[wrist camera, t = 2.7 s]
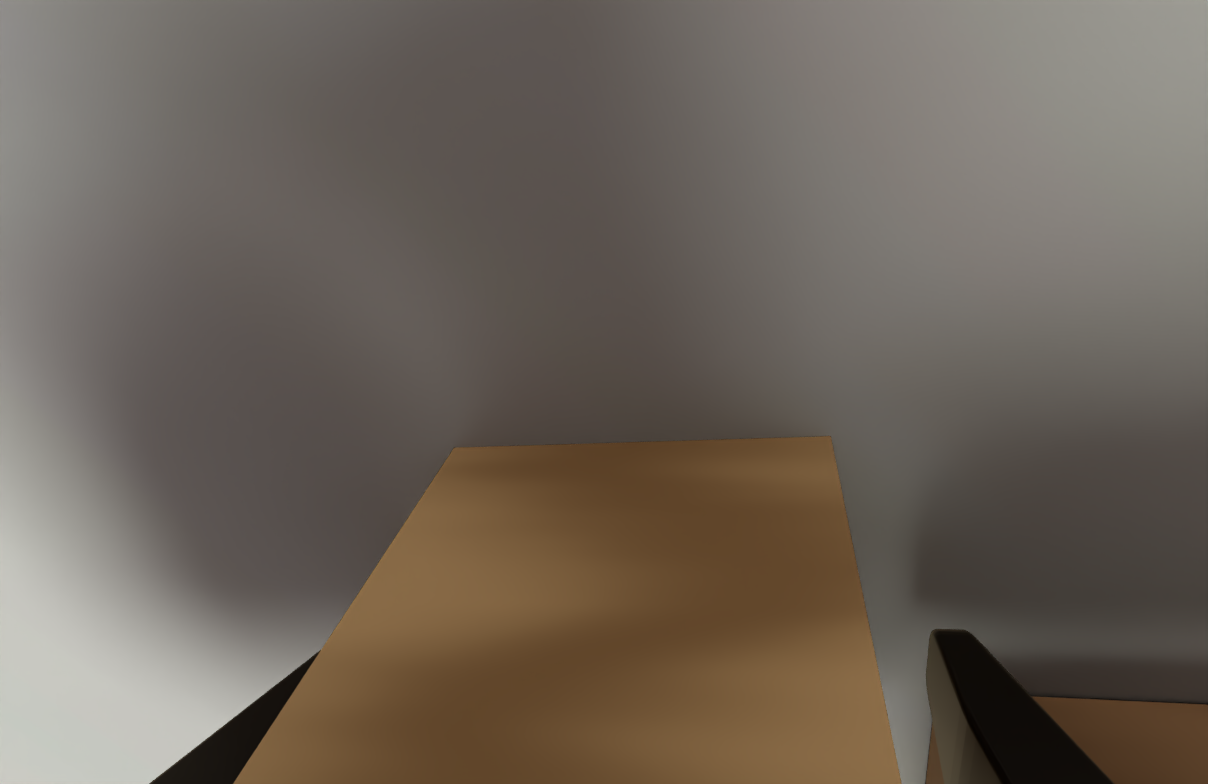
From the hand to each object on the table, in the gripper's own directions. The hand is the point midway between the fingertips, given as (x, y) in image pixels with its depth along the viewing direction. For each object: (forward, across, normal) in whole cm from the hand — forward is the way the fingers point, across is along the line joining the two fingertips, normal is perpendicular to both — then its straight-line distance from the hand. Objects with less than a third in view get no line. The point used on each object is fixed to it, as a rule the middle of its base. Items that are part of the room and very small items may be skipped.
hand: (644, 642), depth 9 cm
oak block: (+1, 0, 0) cm, 1 cm away
